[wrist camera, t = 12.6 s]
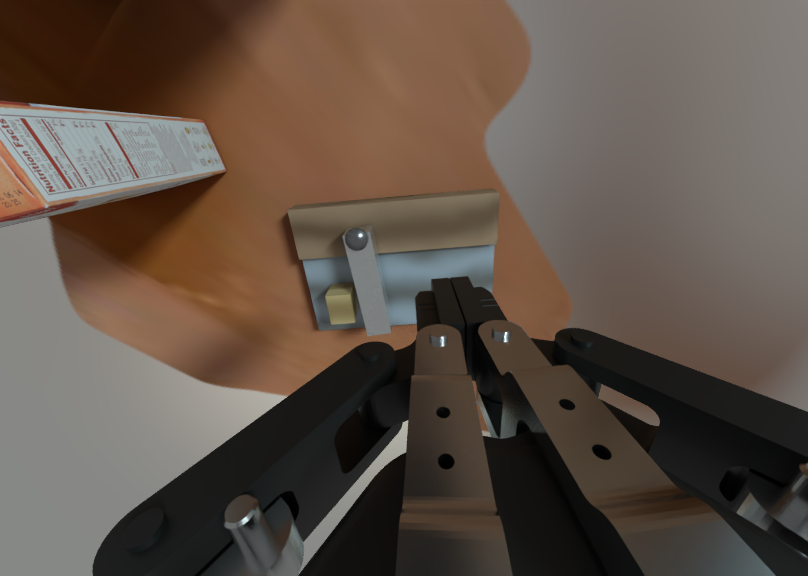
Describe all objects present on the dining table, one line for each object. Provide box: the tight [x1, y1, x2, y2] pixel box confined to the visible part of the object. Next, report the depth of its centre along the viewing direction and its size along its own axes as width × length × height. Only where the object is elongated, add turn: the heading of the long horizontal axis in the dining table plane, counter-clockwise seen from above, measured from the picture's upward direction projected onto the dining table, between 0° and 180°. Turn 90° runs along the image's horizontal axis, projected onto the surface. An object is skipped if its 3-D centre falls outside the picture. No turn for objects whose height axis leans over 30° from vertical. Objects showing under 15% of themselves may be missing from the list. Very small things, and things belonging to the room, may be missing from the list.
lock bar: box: [342, 225, 392, 336], centre depth 36 cm, size 14×3×4 cm, turn 9°
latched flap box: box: [287, 189, 500, 331], centre depth 38 cm, size 17×24×6 cm
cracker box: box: [0, 101, 227, 227], centre depth 26 cm, size 14×6×21 cm, turn 103°
